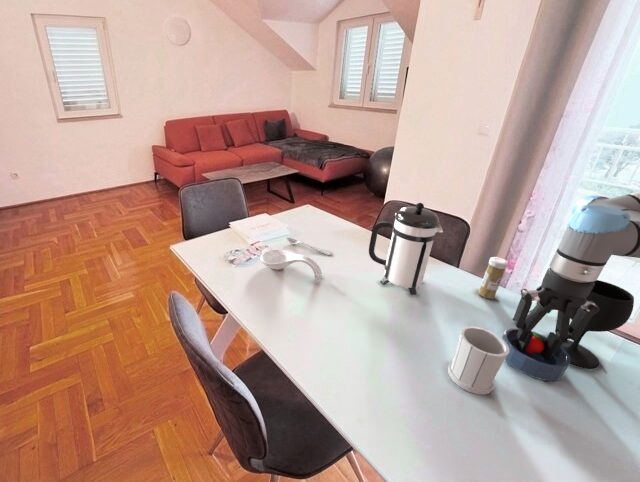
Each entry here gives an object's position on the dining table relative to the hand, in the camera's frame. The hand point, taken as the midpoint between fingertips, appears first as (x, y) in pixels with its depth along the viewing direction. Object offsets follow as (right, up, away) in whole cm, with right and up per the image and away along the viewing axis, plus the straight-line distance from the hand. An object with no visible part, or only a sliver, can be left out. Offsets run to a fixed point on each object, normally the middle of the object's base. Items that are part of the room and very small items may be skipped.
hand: (531, 353), depth 78 cm
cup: (-18, -4, -3) cm, 19 cm away
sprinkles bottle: (+9, +8, +26) cm, 28 cm away
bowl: (0, -2, +1) cm, 3 cm away
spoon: (-44, +21, +55) cm, 74 cm away
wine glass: (+13, -2, +4) cm, 14 cm away
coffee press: (-17, +11, +32) cm, 38 cm away
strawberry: (-1, 0, 0) cm, 1 cm away
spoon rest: (-54, +14, +39) cm, 68 cm away
